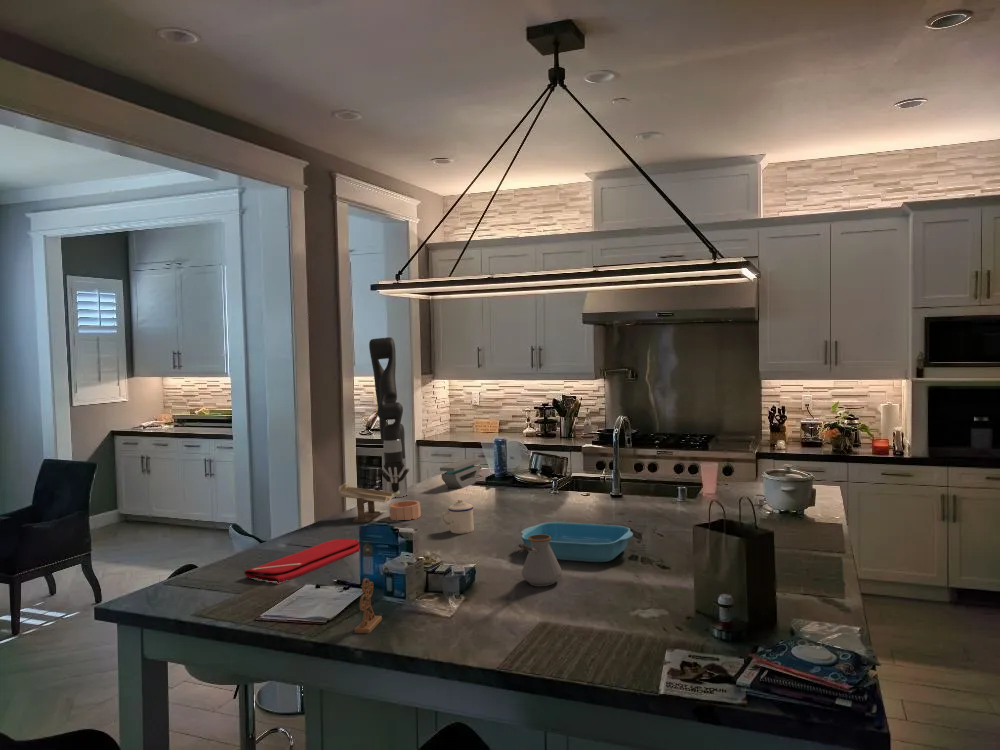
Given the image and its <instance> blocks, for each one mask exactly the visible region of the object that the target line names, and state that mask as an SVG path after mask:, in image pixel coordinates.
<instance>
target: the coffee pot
mask: <svg viewBox="0 0 1000 750" xmlns="http://www.w3.org/2000/svg"><path fill="white" fill-rule="evenodd" d="M528 539H529V540H530V542H531V547H529V546H527V545H524V543H523V544H521V543H520V544H518V545H516V546H515V548H514V550H515V551H517V547H518V548H520V549H521V551H520V553H522V552H524V550H525V551H527V550H529V552H528V553H527V556H526V558H525V561H524V564H523V566H522V567H523V568H522V570H521V575H522V577H523V580H525V581H526V582H527V583H528V584H529V585H531V586H535V587H547V586H551V585H554V584H555V583H556V582H557V581H558V580H559V579H560V578H561V575H562V573H563V571H562V570H563V569H562V568H561V565H560V563H559V562H558V559H556V557H555V555H554V553H553V551H552V549H551V547H550V545H549V541H550V539H551V536H549V535H544V534H539V535H533V536H529V537H528Z"/></svg>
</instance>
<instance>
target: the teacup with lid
mask: <svg viewBox="0 0 1000 750" xmlns="http://www.w3.org/2000/svg"><path fill="white" fill-rule="evenodd" d="M445 514H446V515H448V516H449V522H447V521H446V520H445V518H444V516H445ZM440 516H441V517H440V518H441V521H442V523H443V525H444V524H445V525H446V526H450V527H449V528H450V532H451V533H452V534H456V535H461V534H469V533H472V532H473V531H474V530H475V528H474V527H475V526H474V525H475V524H474V506H473V504H471V503H468V502H466V501H464V500H463V498H458V499H457V502H454V503H452V505H449V507H448V511H444V512H443V513H442V514H441V515H440Z"/></svg>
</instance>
